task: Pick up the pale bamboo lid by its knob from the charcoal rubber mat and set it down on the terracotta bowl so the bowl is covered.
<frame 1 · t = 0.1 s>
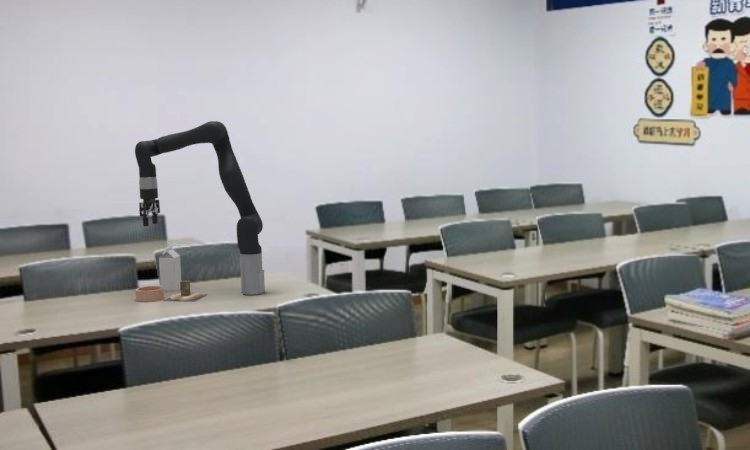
hand: (150, 225, 356), 29 cm above the table, fingers open, 8 cm apart
lid: (185, 297, 342), point 1 cm above the table, touching mat
bowl: (150, 300, 341), on the table
milk carton: (171, 291, 360), on the table
mat: (185, 299, 342), on the table
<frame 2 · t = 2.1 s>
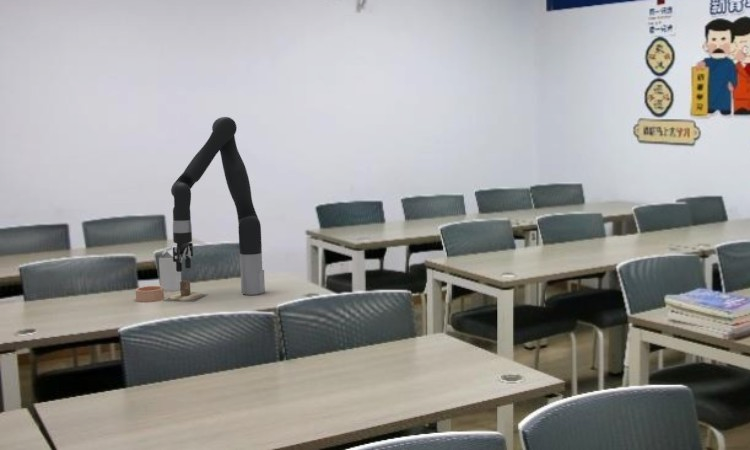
hand: (183, 269, 340), 12 cm above the table, fingers open, 8 cm apart
nothing on the table moved.
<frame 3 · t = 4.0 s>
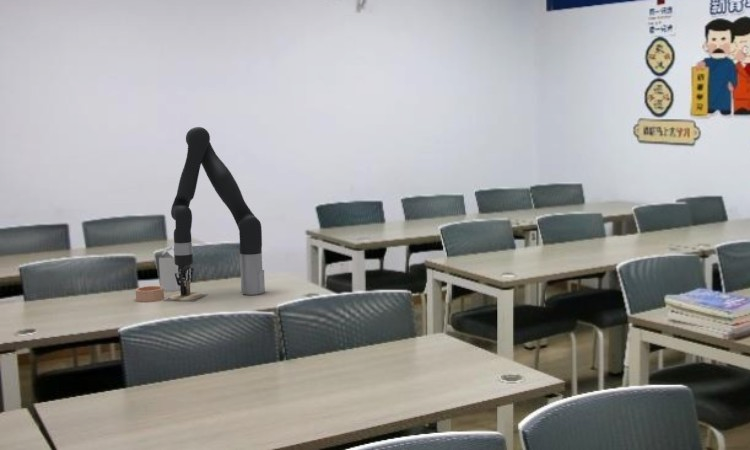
hand: (185, 294, 341), 2 cm above the table, fingers closed on lid, 3 cm apart
lid: (185, 297, 342), point 1 cm above the table, touching gripper, mat
everything else where it was.
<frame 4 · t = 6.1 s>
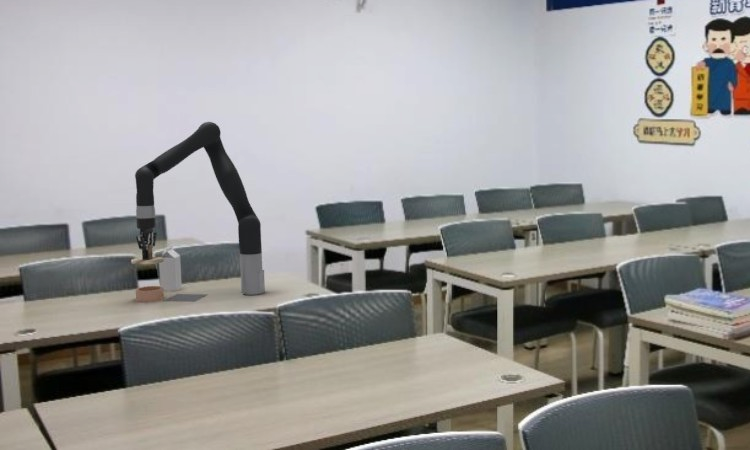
hand: (147, 258, 338), 18 cm above the table, fingers closed on lid, 3 cm apart
lid: (147, 261, 339), point 16 cm above the table, touching gripper
everything else where it was.
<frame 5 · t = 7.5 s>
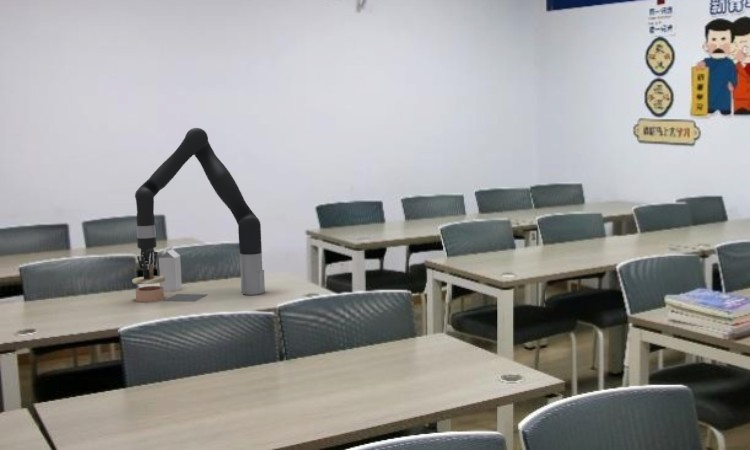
hand: (148, 277, 340), 10 cm above the table, fingers closed on lid, 3 cm apart
lid: (148, 281, 340), point 8 cm above the table, touching gripper
everything else where it was.
when the fingers open (8 cm above the table, at t = 8.5 s): lid drops 2 cm, resting on bowl.
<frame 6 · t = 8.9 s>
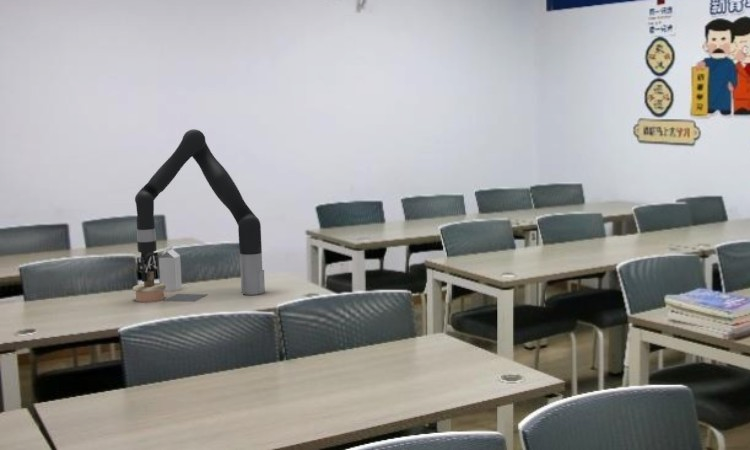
hand: (148, 279, 340), 9 cm above the table, fingers open, 6 cm apart
lid: (149, 288, 340), point 5 cm above the table, touching bowl
everything else where it was.
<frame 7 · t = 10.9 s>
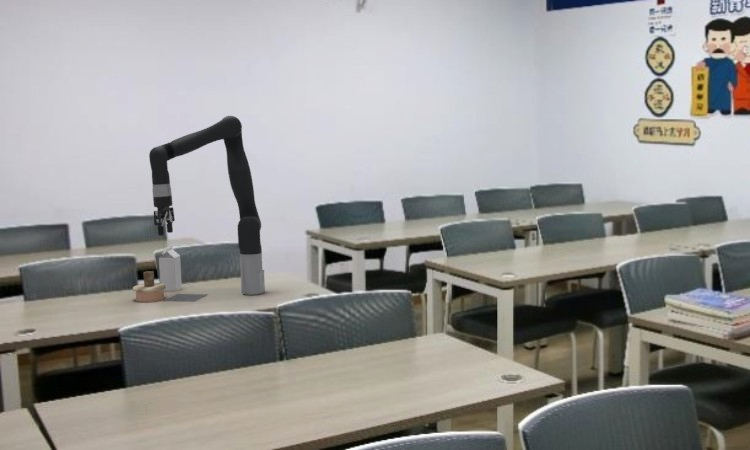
hand: (165, 233, 342), 27 cm above the table, fingers open, 8 cm apart
nothing on the table moved.
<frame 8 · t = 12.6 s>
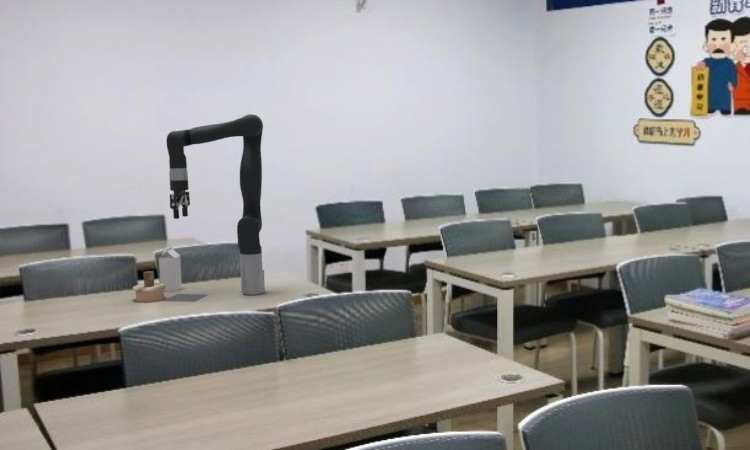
hand: (180, 217, 346), 33 cm above the table, fingers open, 8 cm apart
nothing on the table moved.
at the end: lid 0.0 cm off-centre on the bowl, point 5.0 cm above the bowl's base; lid tilted 0°; the gripper is holding nothing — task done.
